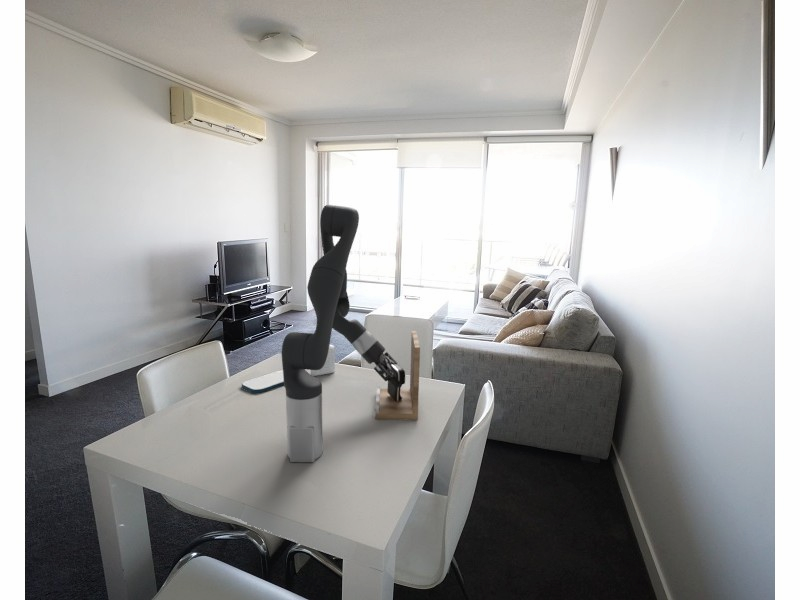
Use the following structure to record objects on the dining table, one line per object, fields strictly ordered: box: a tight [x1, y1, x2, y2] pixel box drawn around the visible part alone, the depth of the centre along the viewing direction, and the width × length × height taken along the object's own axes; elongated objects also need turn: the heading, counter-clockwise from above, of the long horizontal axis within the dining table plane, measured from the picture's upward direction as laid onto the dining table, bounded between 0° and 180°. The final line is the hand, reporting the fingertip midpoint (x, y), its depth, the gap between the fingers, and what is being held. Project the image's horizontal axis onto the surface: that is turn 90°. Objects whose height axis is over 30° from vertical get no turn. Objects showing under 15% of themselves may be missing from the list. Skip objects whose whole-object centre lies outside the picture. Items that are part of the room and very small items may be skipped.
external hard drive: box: [241, 368, 285, 395], centre depth 159 cm, size 24×12×2 cm, turn 142°
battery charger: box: [387, 363, 406, 401], centre depth 141 cm, size 7×4×11 cm, turn 27°
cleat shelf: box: [374, 330, 421, 421], centre depth 139 cm, size 20×14×24 cm
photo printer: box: [310, 343, 336, 377], centre depth 169 cm, size 10×4×12 cm, turn 123°
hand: (401, 381), depth 140 cm, fingers open, 7 cm apart
